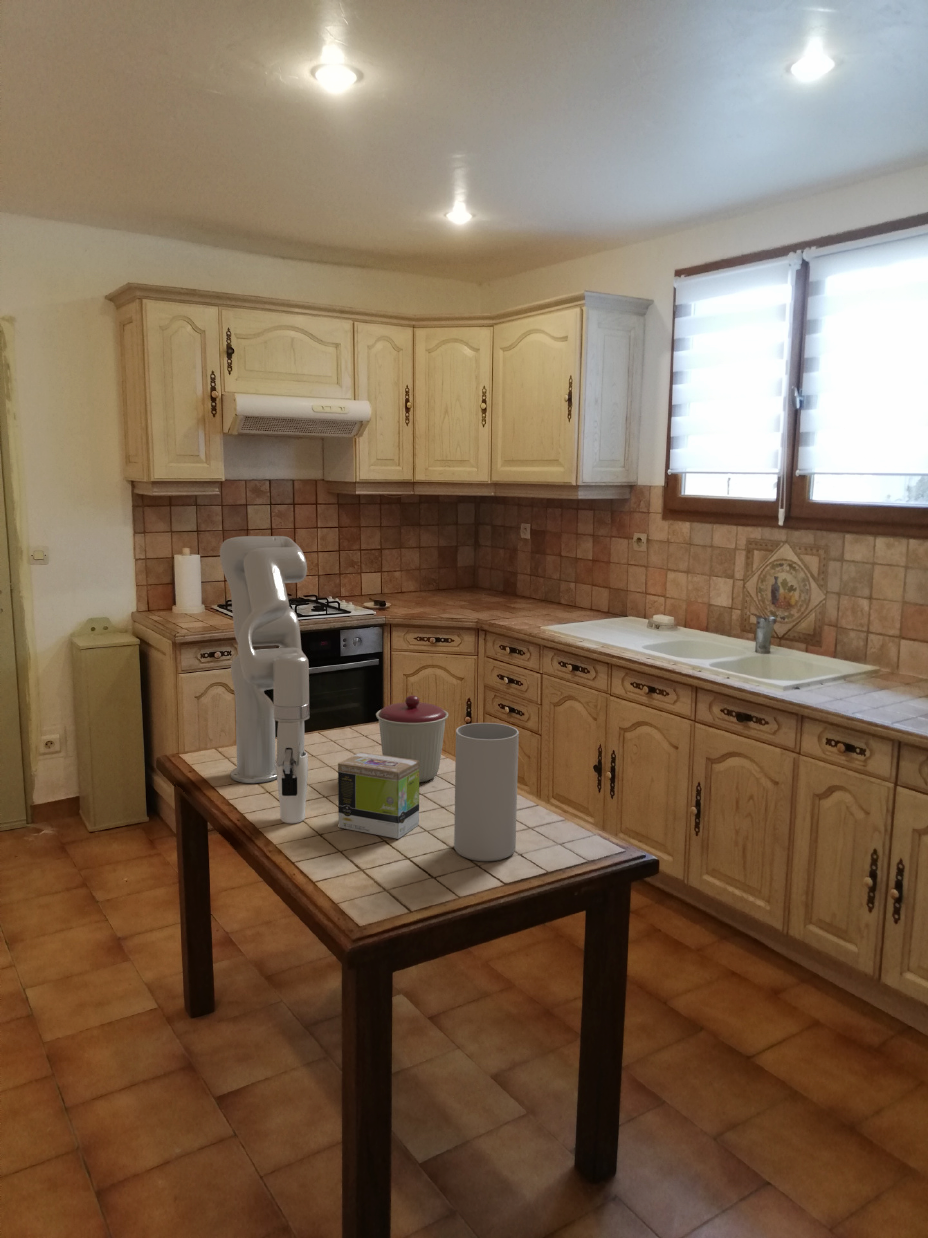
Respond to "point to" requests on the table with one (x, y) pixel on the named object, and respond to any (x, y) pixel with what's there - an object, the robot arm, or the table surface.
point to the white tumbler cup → (294, 805)
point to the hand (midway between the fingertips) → (292, 788)
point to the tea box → (378, 794)
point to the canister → (413, 733)
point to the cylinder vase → (486, 791)
